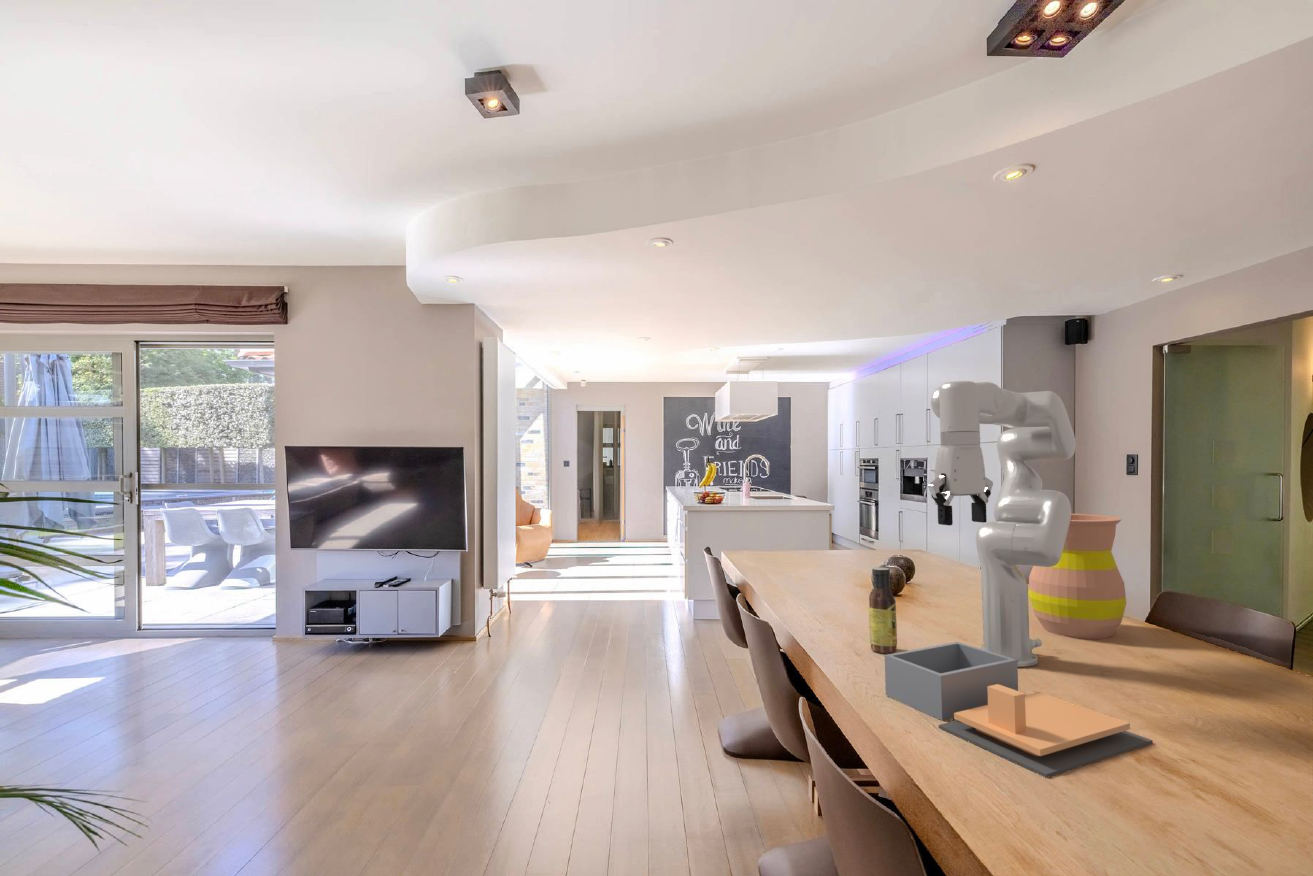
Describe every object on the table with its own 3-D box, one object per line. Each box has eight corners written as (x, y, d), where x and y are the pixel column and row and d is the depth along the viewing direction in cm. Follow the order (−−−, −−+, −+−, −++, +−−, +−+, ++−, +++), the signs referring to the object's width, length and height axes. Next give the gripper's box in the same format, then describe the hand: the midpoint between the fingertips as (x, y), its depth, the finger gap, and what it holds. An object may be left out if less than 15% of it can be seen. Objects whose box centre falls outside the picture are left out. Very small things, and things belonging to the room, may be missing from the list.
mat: (1038, 702, 128) (1038, 700, 128) (1152, 743, 109) (1152, 740, 109) (938, 727, 117) (938, 725, 117) (1046, 777, 99) (1046, 774, 99)
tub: (958, 679, 141) (957, 641, 141) (1018, 701, 128) (1017, 659, 128) (885, 695, 133) (884, 655, 133) (942, 720, 120) (940, 675, 120)
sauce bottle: (899, 655, 159) (897, 571, 159) (871, 654, 160) (869, 570, 160) (895, 647, 165) (892, 566, 165) (868, 646, 166) (866, 566, 167)
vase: (1016, 619, 189) (1013, 513, 190) (1100, 621, 186) (1096, 513, 187) (1050, 641, 167) (1047, 521, 168) (1146, 643, 164) (1142, 521, 165)
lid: (1039, 705, 125) (1038, 659, 125) (1130, 738, 110) (1128, 686, 110) (954, 727, 116) (952, 678, 116) (1040, 766, 101) (1038, 709, 101)
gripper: (974, 441, 146) (976, 519, 146) (915, 441, 139) (917, 524, 138) (1005, 440, 139) (1007, 522, 139) (944, 440, 132) (946, 527, 132)
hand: (962, 523), depth 139 cm, fingers open, 9 cm apart
